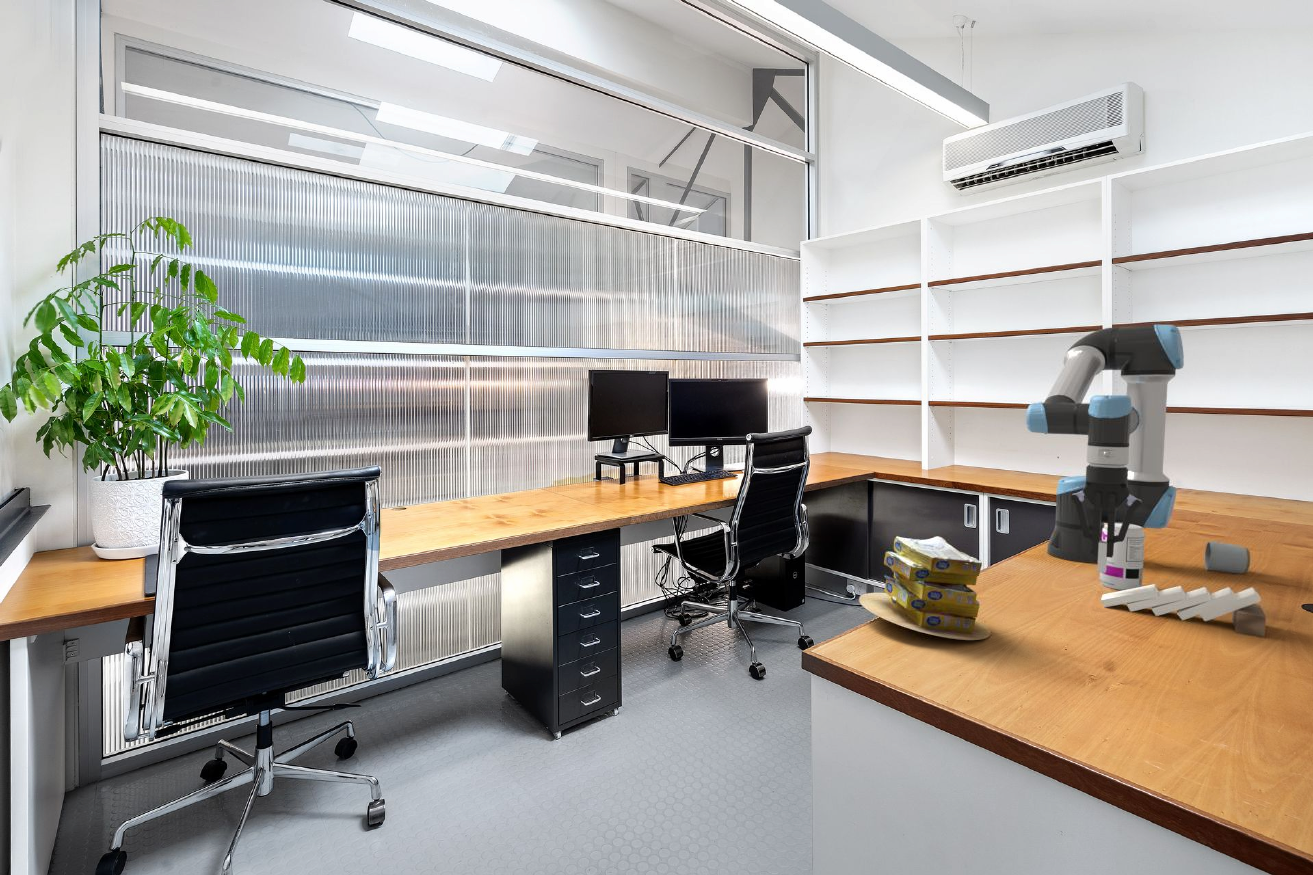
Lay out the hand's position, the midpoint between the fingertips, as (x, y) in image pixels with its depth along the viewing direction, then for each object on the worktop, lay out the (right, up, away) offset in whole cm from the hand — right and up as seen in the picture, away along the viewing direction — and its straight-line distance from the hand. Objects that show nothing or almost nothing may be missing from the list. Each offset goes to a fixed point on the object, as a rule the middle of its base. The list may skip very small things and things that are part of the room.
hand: (1101, 570), depth 141 cm
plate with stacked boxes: (-45, -9, -11) cm, 47 cm away
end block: (+19, -8, -14) cm, 25 cm away
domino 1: (0, -7, 0) cm, 7 cm away
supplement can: (+13, -7, +13) cm, 20 cm away
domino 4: (+11, -7, -8) cm, 15 cm away
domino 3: (+7, -7, -5) cm, 12 cm away
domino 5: (+13, -7, -10) cm, 18 cm away
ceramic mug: (+51, -6, +27) cm, 58 cm away
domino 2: (+4, -7, -3) cm, 8 cm away
